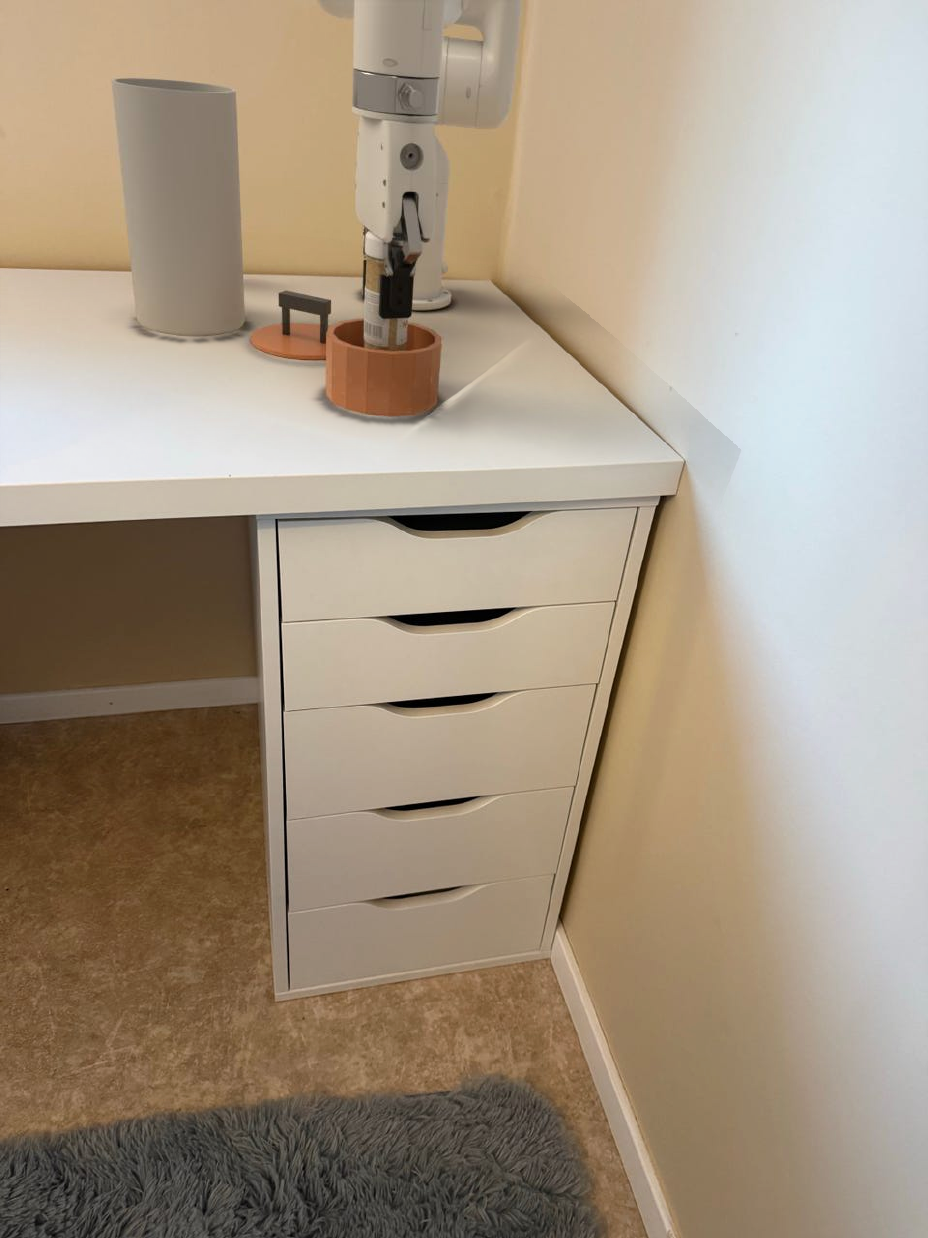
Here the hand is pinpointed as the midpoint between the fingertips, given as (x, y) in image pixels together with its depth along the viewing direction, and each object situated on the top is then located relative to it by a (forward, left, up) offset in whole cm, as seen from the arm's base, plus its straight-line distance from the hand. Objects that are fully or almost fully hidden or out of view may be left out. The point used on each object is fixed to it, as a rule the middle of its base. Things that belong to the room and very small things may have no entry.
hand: (386, 307), depth 89 cm
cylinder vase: (-8, -30, -10) cm, 32 cm away
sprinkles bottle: (0, 0, -7) cm, 7 cm away
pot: (+1, 0, -9) cm, 9 cm away
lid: (-9, -15, -9) cm, 20 cm away
